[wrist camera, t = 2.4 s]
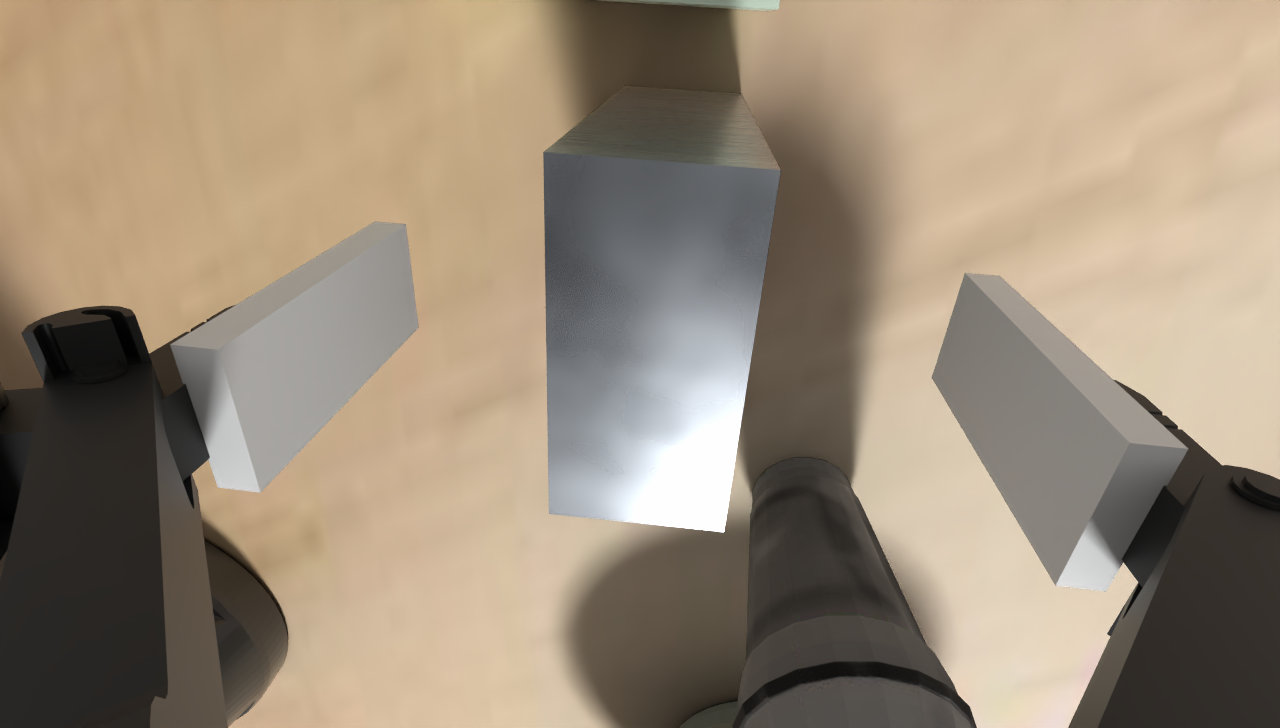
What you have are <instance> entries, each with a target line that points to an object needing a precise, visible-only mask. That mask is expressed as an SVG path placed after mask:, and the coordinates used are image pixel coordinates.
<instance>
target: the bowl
mask: <svg viewBox="0 0 1280 728" xmlns="http://www.w3.org/2000/svg"><path fill="white" fill-rule="evenodd" d="M737 714H738V701H734V702H729V703H723V704H719V705H716V706H713V707H710V708H707V709H705V710H703V711H701V712H699V713H697V714H695V715H693V716H692V717H690V718H689V719H688V720H687V721H685V722H684V723H683V724H682V725H681V726H680V727H679V728H732V725H733V723H734V721H735V719H736V716H737Z"/></svg>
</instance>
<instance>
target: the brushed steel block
mask: <svg viewBox="0 0 1280 728" xmlns="http://www.w3.org/2000/svg"><path fill="white" fill-rule="evenodd" d="M780 172H781V169H780V167H779V165H778V164H777V162H776V160H775V158H774V156H773V154H772V152H771V150H770V148H769V146H768V144H767V142H766V140H765V138H764V136H763V134H762V133H761V131H760V129H759V127H758V125H757V123H756V121H755V119H754V117H753V115H752V113H751V111H750V109H749V107H748V105H747V103H746V102H745V100H744V98H743V96H742V94H741V93H726V92H712V91H697V90H683V89H668V88H654V87H639V86H624V87H623V88H622V89H620V90H619V91H618V92H617V93H615V94H614V95H613V96H612V97H610V98H609V99H608V100H607V101H606V102H604V103H603V104H602V105H601V106H599V107H598V108H597V109H596V110H595V111H593V112H592V113H591V114H590V115H588V116H587V117H586V118H585V119H584V120H582V121H581V122H580V123H579V124H577V125H576V126H575V127H574V128H573V129H571V130H570V131H569V132H568V133H566V134H565V135H564V136H563V137H562V138H560V139H559V140H558V141H557V142H555V143H554V144H553V145H552V146H550V147H549V148H548V149H547V150H546V151H544V217H545V282H546V347H547V412H548V477H549V514H555V515H565V516H574V517H584V518H594V519H603V520H613V521H622V522H632V523H642V524H651V525H661V526H671V527H680V528H690V529H699V530H709V531H719V532H724V529H725V522H726V516H727V510H728V503H729V497H730V490H731V484H732V478H733V471H734V465H735V459H736V452H737V446H738V439H739V433H740V427H741V420H742V414H743V408H744V401H745V395H746V389H747V382H748V376H749V369H750V363H751V357H752V350H753V344H754V338H755V331H756V325H757V319H758V312H759V306H760V299H761V293H762V287H763V280H764V274H765V268H766V261H767V255H768V249H769V242H770V236H771V229H772V223H773V217H774V210H775V204H776V198H777V191H778V185H779V178H780Z"/></svg>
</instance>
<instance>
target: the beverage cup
mask: <svg viewBox="0 0 1280 728" xmlns="http://www.w3.org/2000/svg"><path fill="white" fill-rule="evenodd" d="M732 728H977V727H976V724H975V721H974V718H973V715H972V712H971V709H970V707H969V706H968V705H967V703H966V702H965V701H964V700H963V699H962V698H961V697H960V696H959V695H958V694H957V691H956V689H955V687H954V684H953V682H952V681H951V679H950V677H949V676H948V674H947V673H946V671H945V669H944V668H943V666H942V665H941V663H940V661H939V660H938V658H937V656H936V655H935V653H934V652H933V651H932V650H931V649H930V648H929V647H928V646H927V645H926V643H925V640H924V638H923V636H922V634H921V632H920V630H919V628H918V625H917V623H916V621H915V619H914V617H913V615H912V612H911V610H910V608H909V606H908V604H907V602H906V600H905V597H904V595H903V593H902V591H901V589H900V587H899V585H898V582H897V580H896V578H895V576H894V574H893V572H892V569H891V567H890V565H889V563H888V561H887V559H886V557H885V554H884V552H883V550H882V548H881V546H880V544H879V542H878V539H877V537H876V535H875V533H874V531H873V529H872V526H871V524H870V522H869V520H868V518H867V516H866V514H865V511H864V509H863V507H862V505H861V503H860V501H859V499H858V497H857V496H856V495H855V494H854V492H853V490H852V488H851V487H850V484H849V482H848V479H847V477H846V476H845V475H844V474H843V473H842V472H841V470H840V469H839V468H838V467H836V466H834V465H832V464H830V463H828V462H827V461H824V460H820V459H815V458H811V457H803V458H791V459H788V460H785V461H781V462H778V463H777V464H775V465H773V466H772V467H770V468H768V469H767V470H766V471H765V472H764V473H763V474H762V475H761V476H760V477H759V479H758V480H757V482H756V484H755V487H754V490H753V502H752V511H751V514H750V545H749V579H748V613H747V646H746V665H745V667H744V669H743V671H742V677H741V683H740V690H739V696H738V714H737V716H736V719H735V721H734V723H733V725H732Z"/></svg>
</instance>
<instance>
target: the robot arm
mask: <svg viewBox="0 0 1280 728" xmlns="http://www.w3.org/2000/svg"><path fill="white" fill-rule="evenodd" d="M418 328H419V327H418V319H417V311H416V303H415V295H414V287H413V279H412V270H411V262H410V254H409V246H408V238H407V230H406V224H398V223H386V222H373V223H372V224H370V225H368V226H367V227H365V228H363V229H362V230H360V231H358V232H357V233H355V234H353V235H352V236H350V237H348V238H347V239H345V240H343V241H342V242H340V243H338V244H337V245H335V246H333V247H332V248H330V249H328V250H327V251H325V252H323V253H322V254H320V255H318V256H317V257H315V258H313V259H312V260H310V261H308V262H307V263H305V264H303V265H302V266H300V267H298V268H297V269H295V270H293V271H292V272H290V273H288V274H287V275H285V276H283V277H282V278H280V279H278V280H277V281H275V282H273V283H272V284H270V285H268V286H267V287H265V288H263V289H262V290H260V291H258V292H257V293H255V294H253V295H252V296H250V297H248V298H247V299H245V300H244V301H242V302H240V303H239V304H237V305H234V306H231V307H228V308H226V309H224V310H222V311H221V312H219V313H217V314H215V315H214V316H212V317H210V318H209V319H207V322H202V323H200V324H199V325H197V326H195V327H194V328H192V329H191V332H185V333H184V334H182V335H180V336H179V337H177V338H175V339H173V340H172V341H170V342H168V343H167V344H165V345H163V346H162V347H160V348H158V349H157V350H155V351H153V352H152V353H150V354H149V353H148V350H147V347H146V344H145V341H144V339H143V336H142V333H141V330H140V327H139V325H138V322H137V319H136V316H135V314H134V313H133V312H132V310H130V309H127V308H123V307H118V306H95V307H84V308H78V309H74V310H69V311H64V312H60V313H57V314H54V315H50V316H47V317H44V318H42V319H40V320H38V321H36V322H34V323H32V324H30V325H28V326H27V327H26V328H25V330H24V331H23V332H22V335H23V338H24V340H25V342H26V344H27V346H28V349H29V351H30V353H31V355H32V357H33V359H34V362H35V364H36V366H37V368H38V370H39V373H40V375H41V377H42V379H43V381H44V385H43V388H35V389H20V390H5V391H4V389H3V387H2V385H1V383H0V728H228V727H229V726H230V725H231V724H232V723H233V722H234V721H235V720H237V719H238V718H239V717H241V716H243V715H244V714H245V713H247V712H248V711H249V710H250V709H252V708H253V706H254V705H255V704H256V703H257V702H258V701H259V700H260V699H261V697H262V696H263V694H264V693H265V691H266V690H267V688H268V687H269V685H270V684H271V682H272V681H273V679H274V678H275V676H276V675H277V673H278V672H279V670H280V669H281V667H282V665H283V663H284V661H285V659H286V655H287V651H288V637H287V631H286V627H285V624H284V621H283V618H282V616H281V614H280V612H279V610H278V608H277V606H276V605H275V603H274V601H273V600H272V598H271V597H270V596H269V594H268V593H267V592H266V590H265V589H264V588H263V587H262V586H261V585H260V583H259V582H258V581H257V580H256V579H255V578H254V577H253V576H252V575H251V574H250V573H249V572H248V571H246V570H245V569H244V568H243V567H242V566H241V565H239V564H238V563H237V562H236V561H234V560H233V559H232V558H230V557H229V556H228V555H226V554H225V553H223V552H222V551H220V550H219V549H217V548H216V547H214V546H212V545H211V544H209V543H207V542H206V541H204V536H203V528H202V520H201V512H200V504H199V496H198V490H197V487H196V485H195V482H194V479H193V476H192V473H193V472H194V471H195V470H197V469H198V468H199V467H200V466H201V465H202V464H203V463H205V462H206V461H207V460H209V462H210V465H211V468H212V471H213V474H214V477H215V480H216V483H217V486H218V488H227V489H235V490H244V491H252V492H261V491H262V490H263V489H264V488H265V487H266V486H267V485H268V484H269V483H270V482H271V481H272V480H273V479H274V478H275V477H276V476H277V475H278V474H279V473H280V472H281V470H282V469H283V468H284V467H285V466H286V465H287V464H288V463H289V462H290V461H291V460H292V459H293V458H294V457H295V456H296V455H297V454H298V453H299V452H300V451H301V450H302V449H303V448H304V446H305V445H306V444H307V443H308V442H309V441H310V440H311V439H312V438H313V437H314V436H315V435H316V434H317V433H318V432H319V431H320V430H321V429H322V428H323V427H324V426H325V425H326V424H327V422H328V421H329V420H330V419H331V418H332V417H333V416H334V415H335V414H336V413H337V412H338V411H339V410H340V409H341V408H342V407H343V406H344V405H345V404H346V403H347V402H348V401H349V400H350V398H351V397H352V396H353V395H354V394H355V393H356V392H357V391H358V390H359V389H360V388H361V387H362V386H363V385H364V384H365V383H366V382H367V381H368V380H369V379H370V378H371V377H372V376H373V374H374V373H375V372H376V371H377V370H378V369H379V368H380V367H381V366H382V365H383V364H384V363H385V362H386V361H387V360H388V359H389V358H390V357H391V356H392V355H393V354H394V353H395V352H396V350H397V349H398V348H399V347H400V346H401V345H402V344H403V343H404V342H405V341H406V340H407V339H408V338H409V337H410V336H411V335H412V334H413V333H414V332H415V331H416V330H417V329H418ZM932 379H933V381H934V382H935V384H936V386H937V387H938V389H939V391H940V392H941V394H942V396H943V397H944V399H945V401H946V402H947V404H948V406H949V407H950V409H951V411H952V412H953V414H954V416H955V418H956V419H957V421H958V423H959V424H960V426H961V428H962V429H963V431H964V433H965V434H966V436H967V438H968V439H969V441H970V443H971V444H972V446H973V448H974V449H975V451H976V453H977V454H978V456H979V458H980V459H981V461H982V463H983V465H984V466H985V468H986V470H987V471H988V473H989V475H990V476H991V478H992V480H993V481H994V483H995V485H996V486H997V488H998V490H999V491H1000V493H1001V495H1002V496H1003V498H1004V500H1005V501H1006V503H1007V505H1008V507H1009V508H1010V510H1011V512H1012V513H1013V515H1014V517H1015V518H1016V520H1017V522H1018V523H1019V525H1020V527H1021V528H1022V530H1023V532H1024V533H1025V535H1026V537H1027V538H1028V540H1029V542H1030V543H1031V545H1032V547H1033V549H1034V550H1035V552H1036V554H1037V555H1038V557H1039V559H1040V560H1041V562H1042V564H1043V565H1044V567H1045V569H1046V570H1047V572H1048V574H1049V575H1050V577H1051V579H1052V580H1053V582H1054V584H1055V585H1056V586H1064V587H1072V588H1081V589H1089V590H1098V591H1107V589H1108V587H1109V586H1110V584H1111V582H1112V581H1113V579H1114V577H1115V575H1116V574H1117V572H1118V570H1119V568H1120V567H1121V565H1122V563H1123V562H1124V563H1125V565H1126V566H1127V567H1128V569H1129V570H1130V572H1131V573H1132V574H1133V576H1134V577H1135V578H1136V580H1137V581H1138V584H1137V585H1136V587H1135V589H1134V590H1133V592H1132V594H1131V595H1130V597H1129V599H1128V600H1127V602H1126V604H1125V605H1124V607H1123V609H1122V610H1121V612H1120V614H1119V615H1118V617H1117V618H1116V620H1115V622H1114V623H1113V625H1112V627H1111V628H1110V630H1109V632H1108V633H1107V634H1108V635H1110V636H1111V637H1110V639H1109V641H1108V643H1107V646H1106V648H1105V650H1104V652H1103V654H1102V656H1101V658H1100V661H1099V663H1098V665H1097V667H1096V669H1095V671H1094V674H1093V676H1092V678H1091V680H1090V682H1089V684H1088V686H1087V689H1086V691H1085V693H1084V695H1083V697H1082V699H1081V701H1080V704H1079V706H1078V708H1077V710H1076V712H1075V714H1074V717H1073V719H1072V721H1071V723H1070V725H1069V727H1068V728H1280V480H1279V479H1277V478H1275V477H1272V476H1270V475H1267V474H1264V473H1260V472H1257V471H1254V470H1251V469H1248V468H1242V467H1235V466H1229V465H1224V466H1222V465H1221V464H1220V463H1219V462H1218V461H1217V460H1215V459H1214V458H1213V457H1212V456H1211V455H1210V454H1209V453H1208V452H1206V451H1205V450H1204V449H1203V448H1202V447H1201V446H1200V445H1198V444H1197V443H1196V442H1195V441H1194V440H1193V439H1192V438H1191V437H1189V436H1188V435H1187V434H1186V433H1185V432H1184V431H1183V430H1179V429H1178V426H1177V425H1176V424H1175V423H1174V422H1173V421H1171V420H1170V419H1169V418H1168V417H1167V416H1163V415H1162V412H1161V411H1160V410H1159V409H1158V408H1157V407H1156V406H1155V405H1153V404H1152V403H1151V402H1150V401H1149V400H1148V399H1147V398H1146V397H1144V396H1143V395H1141V394H1140V393H1138V392H1136V391H1134V390H1132V389H1131V388H1129V387H1127V386H1125V385H1123V384H1122V383H1120V382H1118V381H1116V380H1113V379H1112V378H1111V377H1110V376H1108V375H1107V374H1106V373H1105V372H1104V371H1103V370H1102V369H1101V368H1100V367H1099V366H1098V365H1096V364H1095V363H1094V362H1093V361H1092V360H1091V359H1090V358H1089V357H1088V356H1087V355H1086V354H1084V353H1083V352H1082V351H1081V350H1080V349H1079V348H1078V347H1077V346H1076V345H1075V344H1074V343H1072V342H1071V341H1070V340H1069V339H1068V338H1067V337H1066V336H1065V335H1064V334H1063V333H1062V332H1060V331H1059V330H1058V329H1057V328H1056V327H1055V326H1054V325H1053V324H1052V323H1051V322H1050V321H1048V320H1047V319H1046V318H1045V317H1044V316H1043V315H1042V314H1041V313H1040V312H1039V311H1038V310H1036V309H1035V308H1034V307H1033V306H1032V305H1031V304H1030V303H1029V302H1028V301H1027V300H1026V299H1024V298H1023V297H1022V296H1021V295H1020V294H1019V293H1018V292H1017V291H1016V290H1015V289H1014V288H1012V287H1011V286H1010V285H1009V284H1008V283H1007V282H1006V281H1005V280H1004V279H1003V278H1002V277H1000V276H995V275H984V274H972V273H965V275H964V278H963V281H962V284H961V287H960V291H959V294H958V297H957V300H956V303H955V306H954V309H953V313H952V316H951V319H950V322H949V325H948V328H947V331H946V335H945V338H944V341H943V344H942V347H941V350H940V353H939V357H938V360H937V363H936V366H935V369H934V372H933V375H932Z"/></svg>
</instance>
